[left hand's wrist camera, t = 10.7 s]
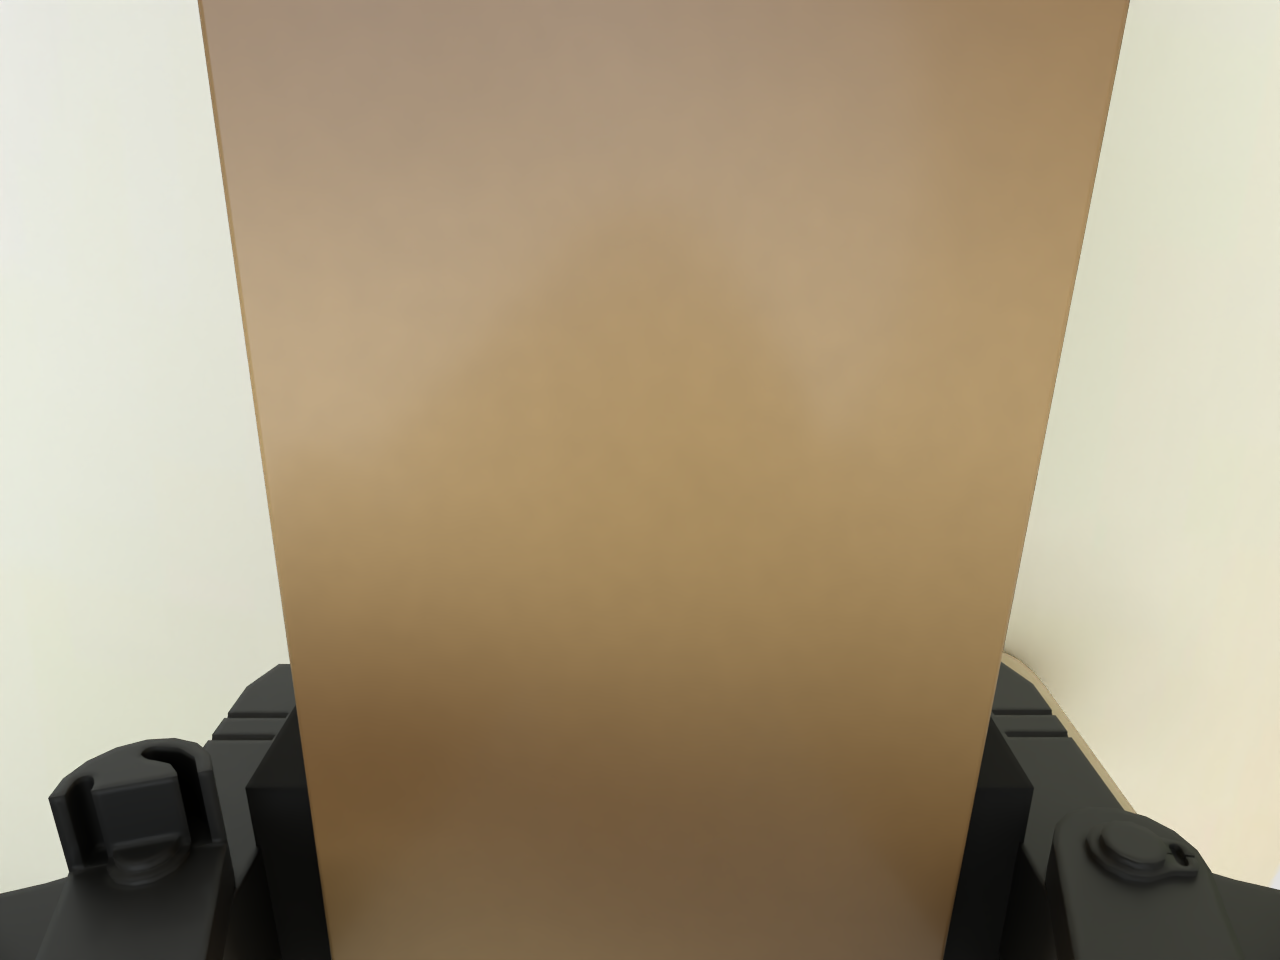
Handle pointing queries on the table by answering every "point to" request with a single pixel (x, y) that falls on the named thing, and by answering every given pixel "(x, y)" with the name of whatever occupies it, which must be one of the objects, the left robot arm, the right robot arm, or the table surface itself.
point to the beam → (651, 446)
